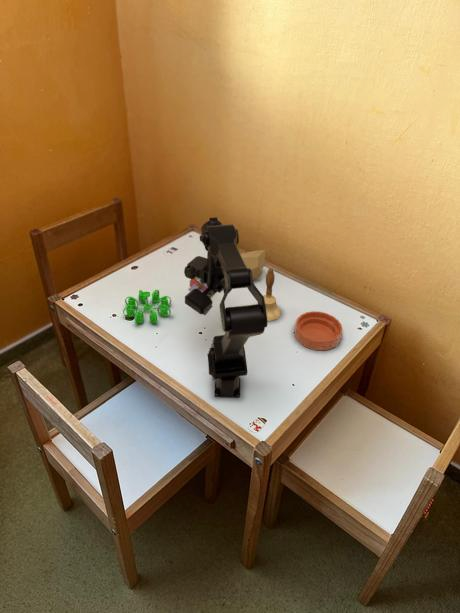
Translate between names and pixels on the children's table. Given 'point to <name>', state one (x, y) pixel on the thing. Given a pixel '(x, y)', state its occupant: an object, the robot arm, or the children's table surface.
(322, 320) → the bowl
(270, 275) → the hand bell
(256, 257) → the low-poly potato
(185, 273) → the robot arm
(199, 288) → the geometric puzzle
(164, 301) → the chandelier
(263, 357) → the children's table surface
